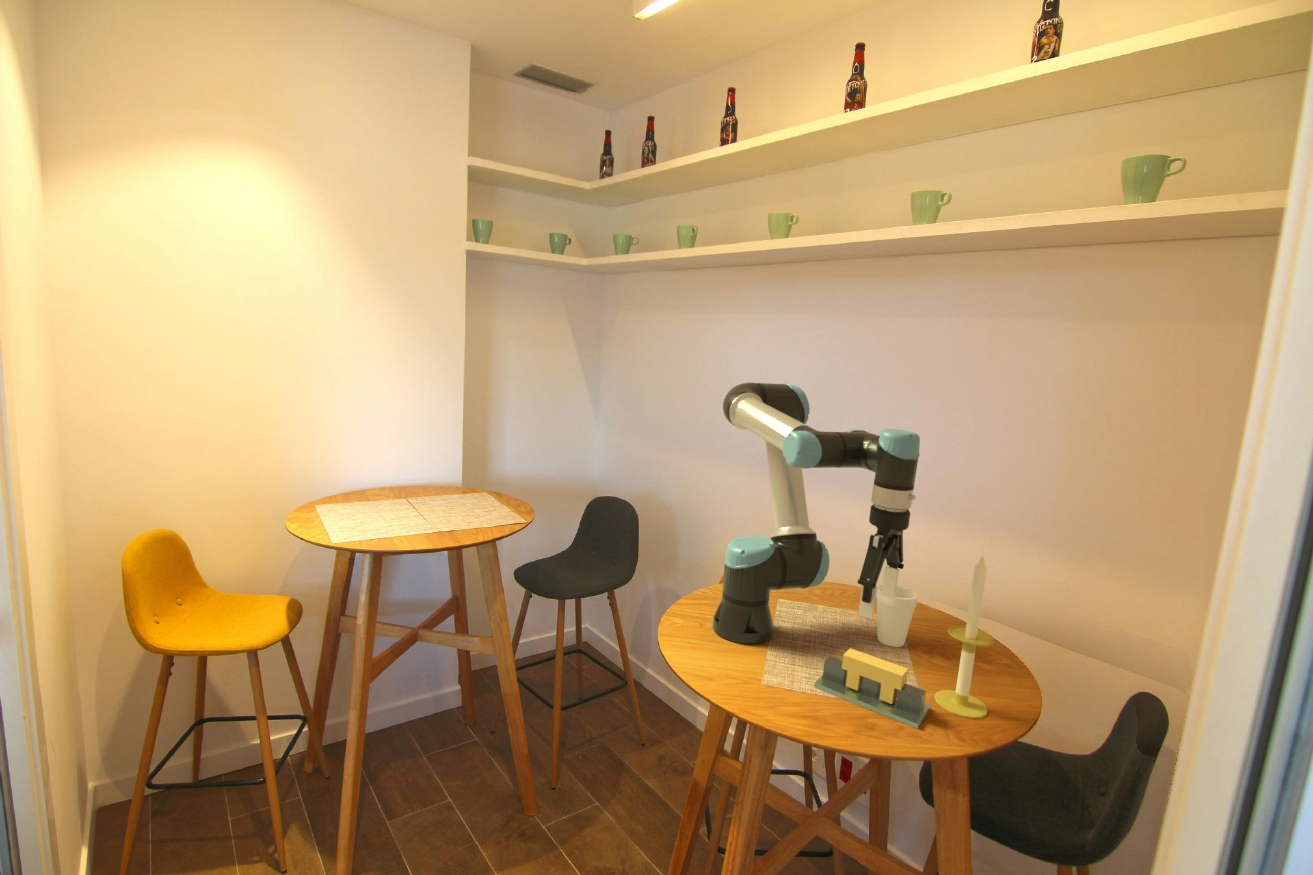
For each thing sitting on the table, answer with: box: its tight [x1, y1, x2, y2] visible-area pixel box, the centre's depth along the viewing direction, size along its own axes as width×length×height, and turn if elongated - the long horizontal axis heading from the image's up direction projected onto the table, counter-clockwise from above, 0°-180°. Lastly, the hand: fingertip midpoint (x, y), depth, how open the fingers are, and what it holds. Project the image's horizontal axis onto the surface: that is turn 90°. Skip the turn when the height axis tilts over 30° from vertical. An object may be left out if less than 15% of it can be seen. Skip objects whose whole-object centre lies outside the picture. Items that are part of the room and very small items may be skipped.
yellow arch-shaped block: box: [842, 648, 909, 704], centre depth 127 cm, size 12×4×6 cm, turn 52°
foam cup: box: [876, 584, 918, 648], centre depth 153 cm, size 10×9×13 cm
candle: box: [934, 554, 995, 720], centre depth 125 cm, size 10×10×32 cm
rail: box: [813, 655, 931, 729], centre depth 127 cm, size 21×9×5 cm, turn 52°
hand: (877, 606), depth 127 cm, fingers open, 13 cm apart
